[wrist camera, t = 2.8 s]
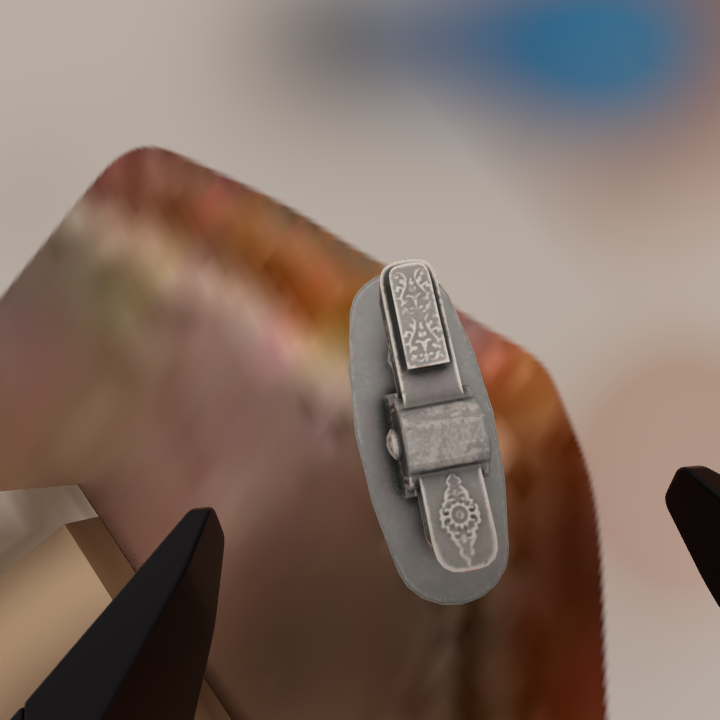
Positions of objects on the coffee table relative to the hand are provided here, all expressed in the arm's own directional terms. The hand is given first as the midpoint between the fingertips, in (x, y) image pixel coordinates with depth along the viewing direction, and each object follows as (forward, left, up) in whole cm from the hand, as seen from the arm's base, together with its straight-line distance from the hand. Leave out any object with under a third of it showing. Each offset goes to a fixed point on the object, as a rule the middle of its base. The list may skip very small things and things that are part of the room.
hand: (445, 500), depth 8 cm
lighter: (+1, -2, -9) cm, 9 cm away
